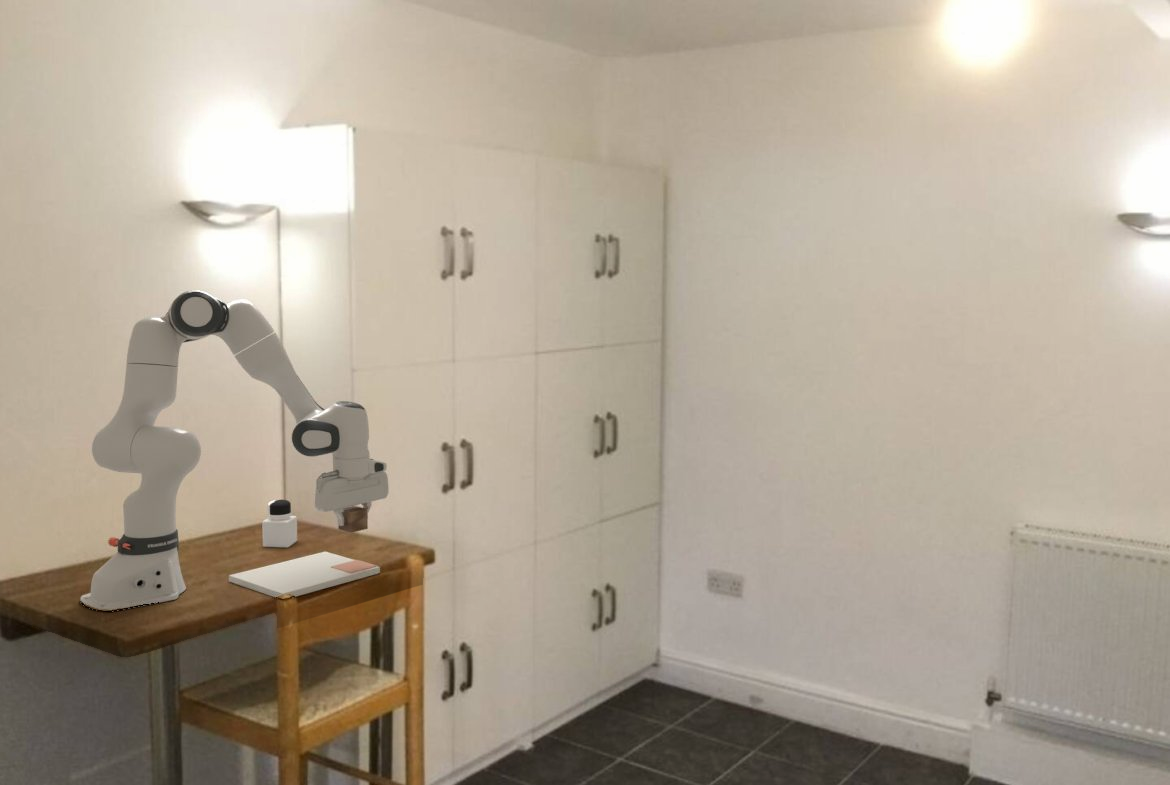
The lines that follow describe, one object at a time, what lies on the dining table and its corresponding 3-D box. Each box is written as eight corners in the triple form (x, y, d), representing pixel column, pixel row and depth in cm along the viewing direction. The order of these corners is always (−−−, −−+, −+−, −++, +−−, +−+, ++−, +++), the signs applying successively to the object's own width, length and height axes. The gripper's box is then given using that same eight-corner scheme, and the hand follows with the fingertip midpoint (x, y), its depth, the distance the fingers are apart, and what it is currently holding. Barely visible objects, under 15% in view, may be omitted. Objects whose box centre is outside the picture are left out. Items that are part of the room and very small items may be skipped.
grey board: (282, 600, 242) (282, 592, 242) (229, 581, 256) (228, 574, 256) (379, 572, 264) (379, 566, 264) (325, 557, 278) (325, 550, 278)
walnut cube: (351, 532, 260) (350, 512, 259) (338, 529, 263) (338, 509, 262) (367, 528, 264) (367, 508, 263) (354, 525, 267) (354, 505, 266)
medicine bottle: (297, 541, 294) (296, 498, 292) (288, 547, 287) (286, 504, 285) (272, 540, 294) (271, 497, 293) (262, 547, 287) (261, 503, 286)
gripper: (324, 476, 251) (326, 533, 253) (391, 462, 267) (393, 516, 269) (308, 472, 255) (310, 528, 257) (375, 459, 271) (376, 512, 273)
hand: (353, 522), depth 263 cm, fingers closed on walnut cube, 5 cm apart
